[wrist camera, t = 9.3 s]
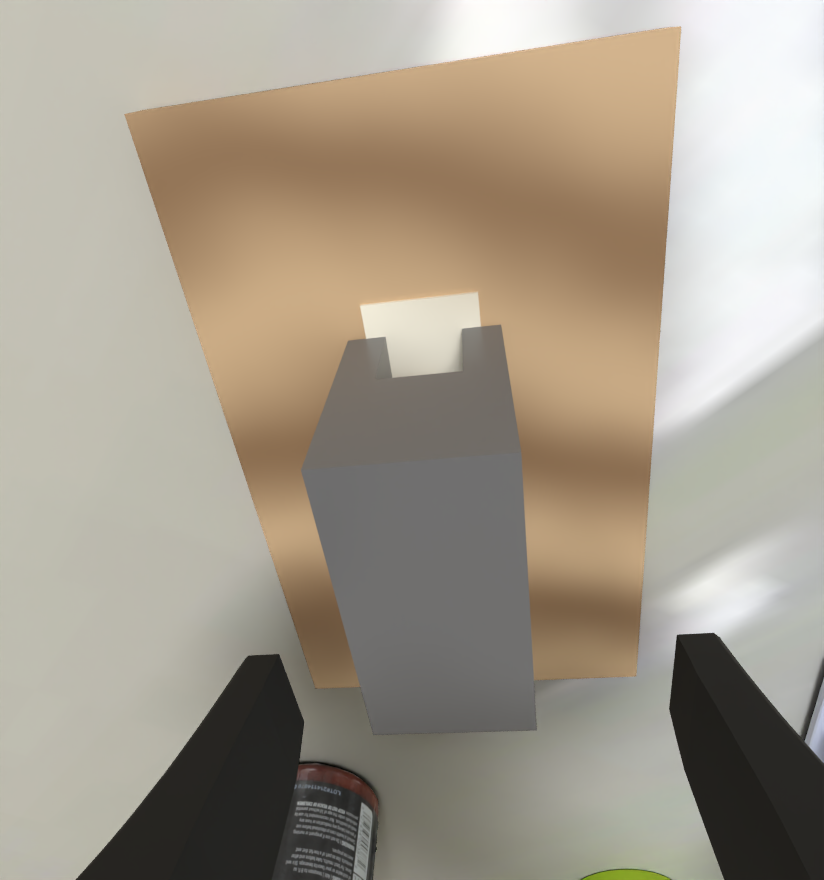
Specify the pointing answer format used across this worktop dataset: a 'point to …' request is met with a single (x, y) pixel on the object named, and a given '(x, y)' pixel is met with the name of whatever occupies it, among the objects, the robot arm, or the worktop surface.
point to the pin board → (443, 294)
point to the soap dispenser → (626, 875)
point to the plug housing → (428, 538)
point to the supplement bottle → (328, 827)
